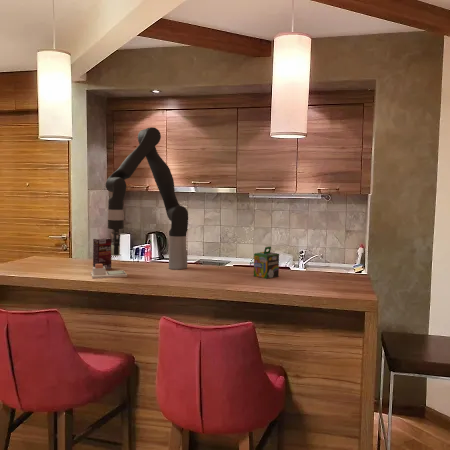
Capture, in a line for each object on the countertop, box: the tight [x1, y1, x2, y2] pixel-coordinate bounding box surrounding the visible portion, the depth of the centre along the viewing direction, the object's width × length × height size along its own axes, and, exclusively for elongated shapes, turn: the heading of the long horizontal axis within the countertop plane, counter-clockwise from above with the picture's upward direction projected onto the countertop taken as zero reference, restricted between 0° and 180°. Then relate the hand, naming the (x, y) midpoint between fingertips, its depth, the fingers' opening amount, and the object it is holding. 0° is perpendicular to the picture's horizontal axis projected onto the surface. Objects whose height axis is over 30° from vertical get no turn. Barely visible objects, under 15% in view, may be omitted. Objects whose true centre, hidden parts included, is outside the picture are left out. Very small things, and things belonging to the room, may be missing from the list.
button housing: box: [92, 266, 107, 275], centre depth 232 cm, size 6×6×3 cm
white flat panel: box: [90, 269, 128, 279], centre depth 234 cm, size 16×12×1 cm
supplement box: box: [92, 237, 112, 270], centre depth 251 cm, size 9×5×16 cm, turn 143°
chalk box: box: [253, 246, 280, 280], centre depth 237 cm, size 9×9×15 cm
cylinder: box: [111, 242, 121, 257], centre depth 234 cm, size 4×4×6 cm
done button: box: [95, 264, 103, 268], centre depth 232 cm, size 3×3×2 cm
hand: (115, 254), depth 234 cm, fingers closed on cylinder, 4 cm apart
